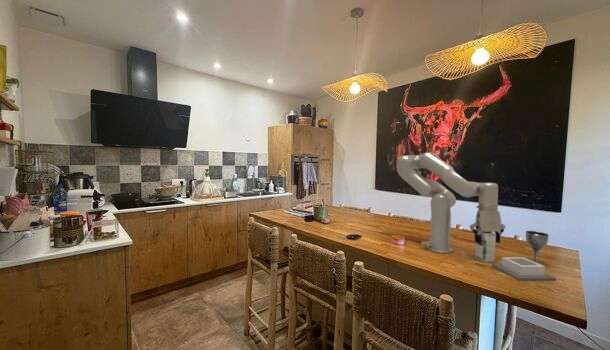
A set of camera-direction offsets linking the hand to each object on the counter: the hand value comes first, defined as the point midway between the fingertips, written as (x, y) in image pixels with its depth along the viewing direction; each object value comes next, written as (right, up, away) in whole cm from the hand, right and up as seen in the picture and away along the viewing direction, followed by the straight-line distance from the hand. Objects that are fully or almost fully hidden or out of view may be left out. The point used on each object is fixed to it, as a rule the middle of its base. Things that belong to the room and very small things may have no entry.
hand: (487, 242), depth 122 cm
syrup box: (-1, -9, +1) cm, 9 cm away
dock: (+6, -10, -13) cm, 17 cm away
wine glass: (+21, -10, -2) cm, 24 cm away
